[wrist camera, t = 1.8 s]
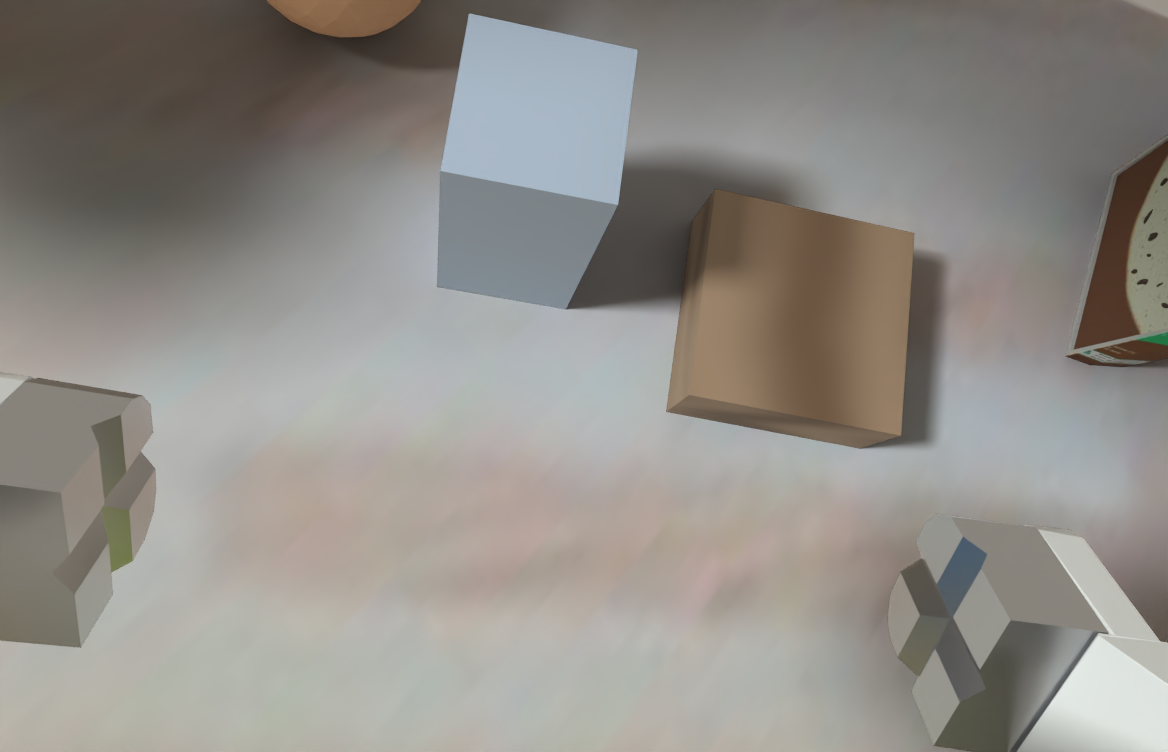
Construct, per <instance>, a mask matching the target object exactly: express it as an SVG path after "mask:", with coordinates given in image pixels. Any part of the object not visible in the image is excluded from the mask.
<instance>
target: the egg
mask: <svg viewBox="0 0 1168 752" xmlns="http://www.w3.org/2000/svg"><path fill="white" fill-rule="evenodd" d="M267 2H268V3H269V4H270V5H271V6H272V7H274V8H275V9H276V10H277V11H279V12H280V13H281V14H283V15H284V16H285V17H286V18H288V19H289V20H290V21H292V22H294V23H296V24H298V25H300V26H302V27H305V28H307V29H309V30H311V31H313V32H315V33H319V34H324V35H329V36H334V37H364V36H370V35H375V34H377V33H380V32H382V31H384V30H387V29H389V28H392V27H393V26H395V25H396V24H397V23H399V22H400V21H401V20H403V19H404V18H405V17H406V16H408V15H409V14H410V13H412V12H413V11H414V10H415V8H416V7H417V6H418V4H419V3H420V2H421V0H267Z"/></svg>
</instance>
